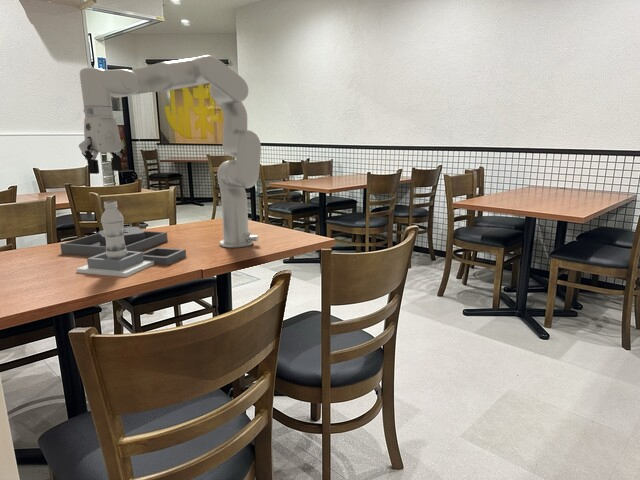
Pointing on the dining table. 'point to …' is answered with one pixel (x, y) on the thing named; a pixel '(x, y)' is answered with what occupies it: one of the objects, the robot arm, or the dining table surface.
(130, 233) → the streaming box
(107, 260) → the board
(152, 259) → the tray
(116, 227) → the plastic bottle
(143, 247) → the dark grey organizer tray
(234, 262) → the dining table surface
